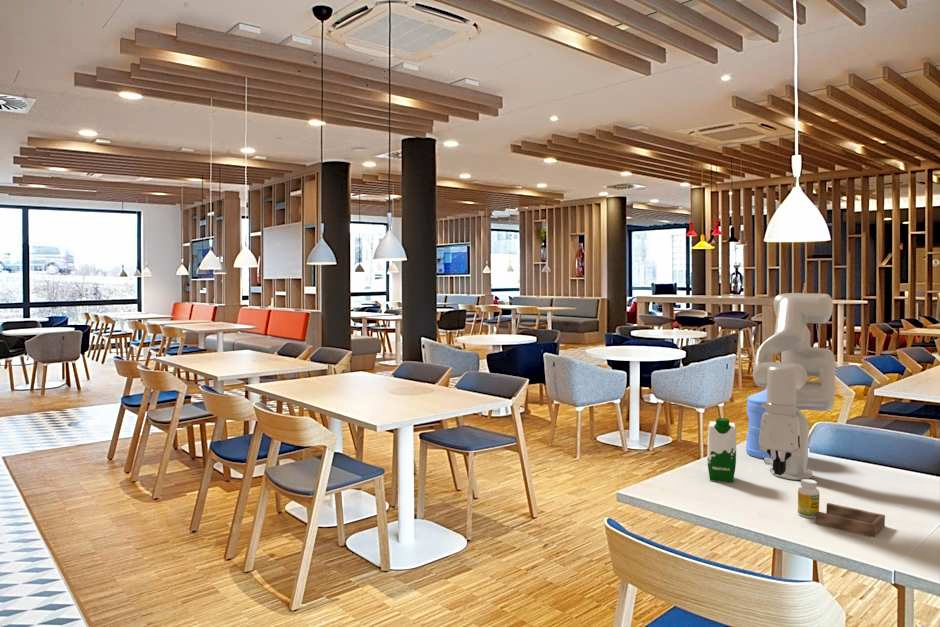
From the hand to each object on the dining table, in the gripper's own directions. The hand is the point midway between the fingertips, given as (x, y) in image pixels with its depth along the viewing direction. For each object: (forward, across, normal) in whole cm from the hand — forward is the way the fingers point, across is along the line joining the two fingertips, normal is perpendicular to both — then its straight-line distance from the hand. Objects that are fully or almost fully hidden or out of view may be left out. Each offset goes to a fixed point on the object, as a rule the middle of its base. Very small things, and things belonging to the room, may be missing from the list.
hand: (779, 473), depth 198 cm
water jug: (+9, -24, +57) cm, 62 cm away
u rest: (+10, +18, +1) cm, 21 cm away
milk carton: (+10, -24, +17) cm, 31 cm away
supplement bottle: (+10, +8, +1) cm, 13 cm away
